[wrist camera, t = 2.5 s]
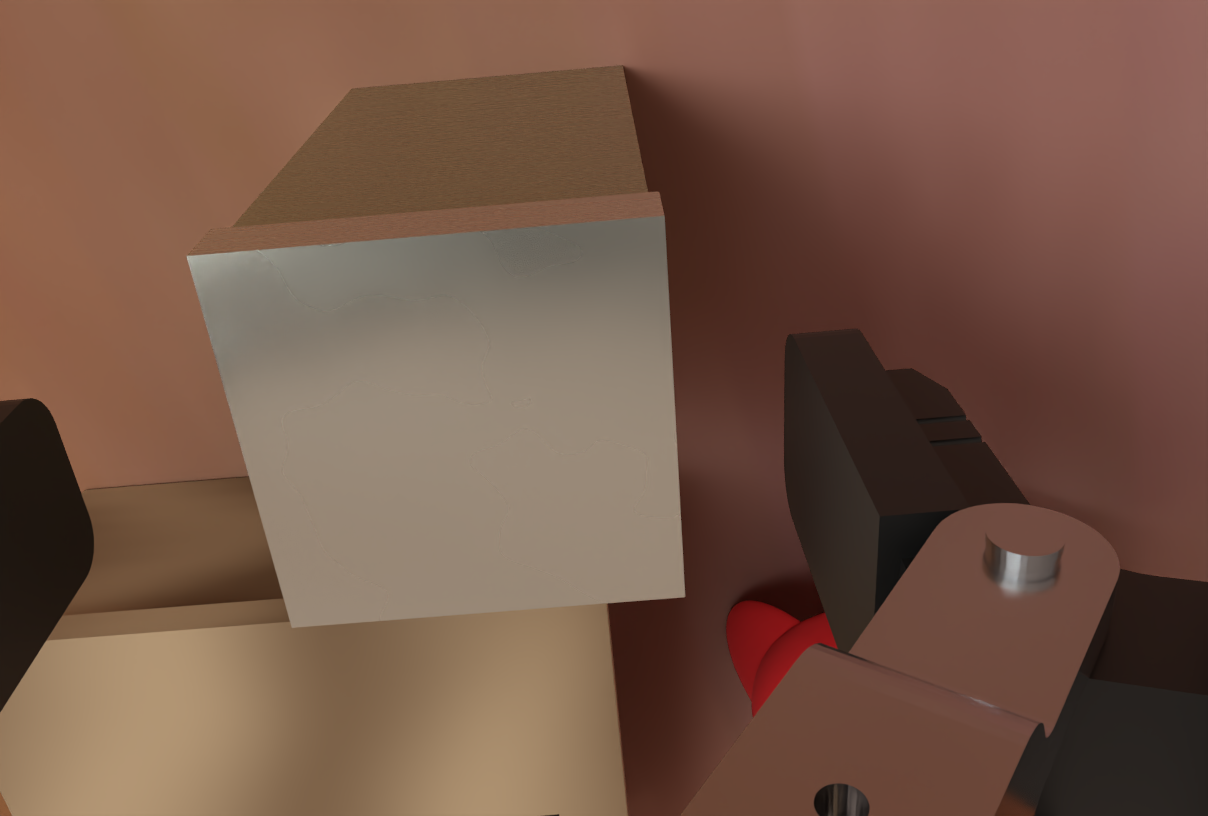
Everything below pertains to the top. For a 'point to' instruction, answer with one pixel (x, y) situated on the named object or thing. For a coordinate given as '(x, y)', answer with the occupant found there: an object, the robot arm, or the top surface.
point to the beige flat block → (295, 690)
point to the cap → (769, 645)
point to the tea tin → (456, 354)
